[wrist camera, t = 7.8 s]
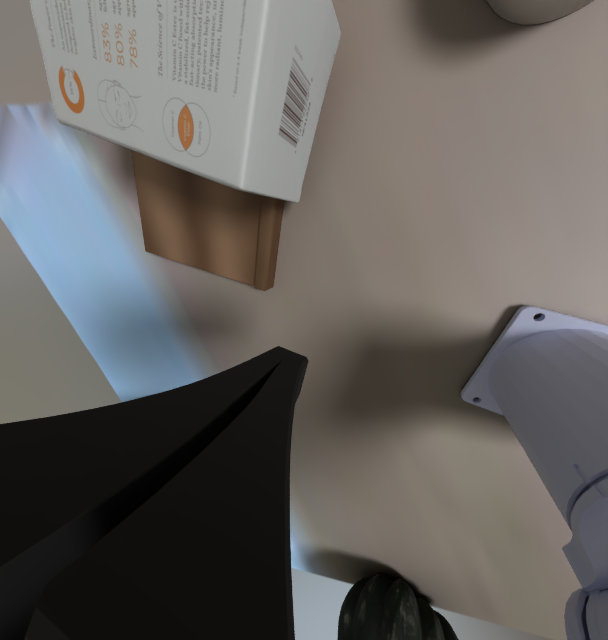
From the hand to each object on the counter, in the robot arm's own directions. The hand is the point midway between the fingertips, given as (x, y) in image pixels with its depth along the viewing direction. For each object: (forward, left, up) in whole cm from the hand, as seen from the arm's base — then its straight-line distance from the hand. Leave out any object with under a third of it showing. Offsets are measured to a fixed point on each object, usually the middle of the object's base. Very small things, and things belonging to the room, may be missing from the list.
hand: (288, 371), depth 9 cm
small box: (+4, -10, -6) cm, 12 cm away
